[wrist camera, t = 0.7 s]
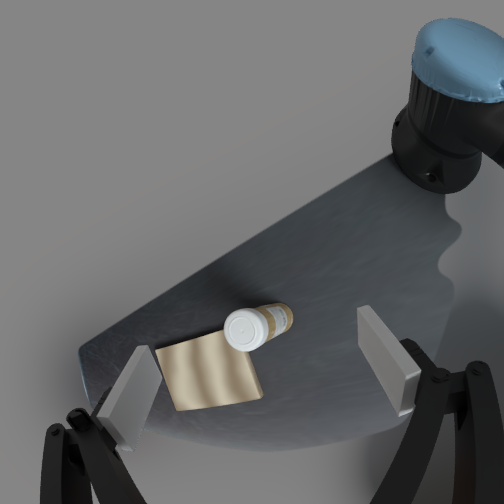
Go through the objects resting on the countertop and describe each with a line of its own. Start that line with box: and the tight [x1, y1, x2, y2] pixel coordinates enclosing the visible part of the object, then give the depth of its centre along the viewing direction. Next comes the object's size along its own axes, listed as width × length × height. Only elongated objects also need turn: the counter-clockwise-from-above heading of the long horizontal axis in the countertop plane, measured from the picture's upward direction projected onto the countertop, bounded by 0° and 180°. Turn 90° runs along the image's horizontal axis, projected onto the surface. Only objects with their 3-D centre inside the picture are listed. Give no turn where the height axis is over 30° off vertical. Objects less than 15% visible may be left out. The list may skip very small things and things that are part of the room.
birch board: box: [155, 330, 263, 411], centre depth 43 cm, size 17×12×2 cm
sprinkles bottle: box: [224, 303, 293, 352], centre depth 35 cm, size 5×5×14 cm
